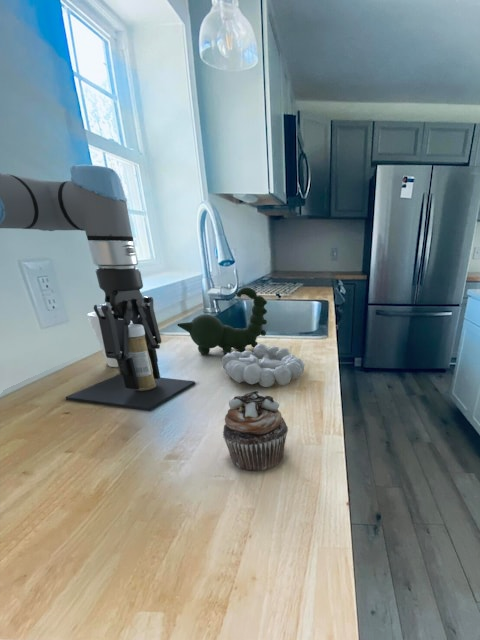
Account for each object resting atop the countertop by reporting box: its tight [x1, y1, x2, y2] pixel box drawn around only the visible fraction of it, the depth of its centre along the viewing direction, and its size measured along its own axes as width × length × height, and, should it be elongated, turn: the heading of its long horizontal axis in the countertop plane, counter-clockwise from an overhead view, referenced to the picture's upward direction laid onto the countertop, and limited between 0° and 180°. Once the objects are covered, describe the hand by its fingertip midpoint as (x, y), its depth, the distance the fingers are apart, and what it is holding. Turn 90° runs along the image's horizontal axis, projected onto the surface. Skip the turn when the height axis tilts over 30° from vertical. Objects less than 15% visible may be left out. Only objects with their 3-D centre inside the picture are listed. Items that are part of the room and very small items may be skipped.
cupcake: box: [222, 390, 289, 472], centre depth 54 cm, size 10×10×10 cm
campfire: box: [221, 343, 306, 388], centre depth 89 cm, size 22×21×6 cm
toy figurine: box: [176, 287, 268, 356], centre depth 105 cm, size 9×19×25 cm
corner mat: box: [65, 373, 196, 412], centre depth 80 cm, size 20×16×1 cm
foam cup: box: [86, 311, 133, 368], centre depth 94 cm, size 10×9×13 cm
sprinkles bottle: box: [128, 323, 156, 391], centre depth 77 cm, size 5×5×13 cm
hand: (143, 382), depth 80 cm, fingers open, 6 cm apart
